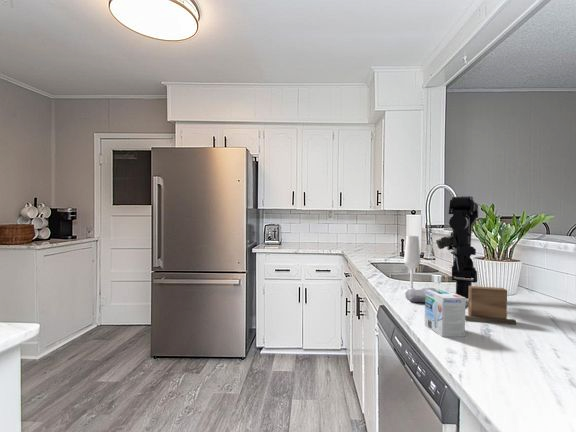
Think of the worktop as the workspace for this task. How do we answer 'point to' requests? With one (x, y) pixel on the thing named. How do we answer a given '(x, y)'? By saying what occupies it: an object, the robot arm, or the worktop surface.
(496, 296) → the light brown wooden block
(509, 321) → the grey rectangular bar
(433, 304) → the light bulb box
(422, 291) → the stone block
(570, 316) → the worktop surface
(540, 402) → the worktop surface
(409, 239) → the champagne flute
